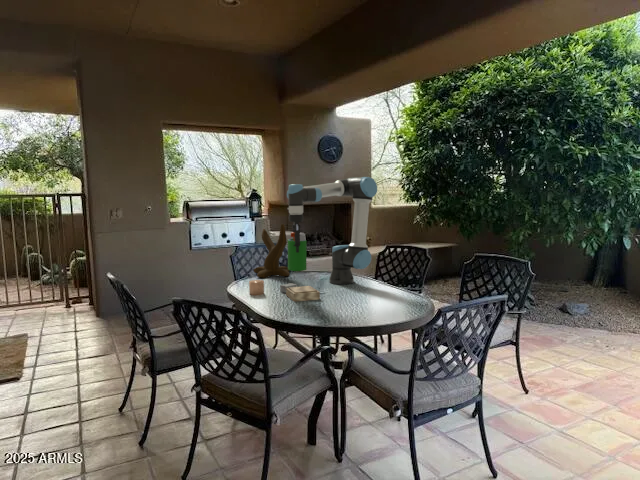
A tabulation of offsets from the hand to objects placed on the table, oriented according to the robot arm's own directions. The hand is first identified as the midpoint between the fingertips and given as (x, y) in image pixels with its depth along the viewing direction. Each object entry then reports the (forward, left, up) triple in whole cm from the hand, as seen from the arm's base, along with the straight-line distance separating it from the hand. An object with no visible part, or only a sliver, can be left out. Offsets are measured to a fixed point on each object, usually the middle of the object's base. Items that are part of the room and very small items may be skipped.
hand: (296, 257), depth 229 cm
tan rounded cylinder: (+18, -15, -22) cm, 32 cm away
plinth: (-3, +2, -22) cm, 22 cm away
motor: (0, 0, -7) cm, 7 cm away
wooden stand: (-4, -66, -22) cm, 70 cm away
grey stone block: (0, -14, -22) cm, 26 cm away
